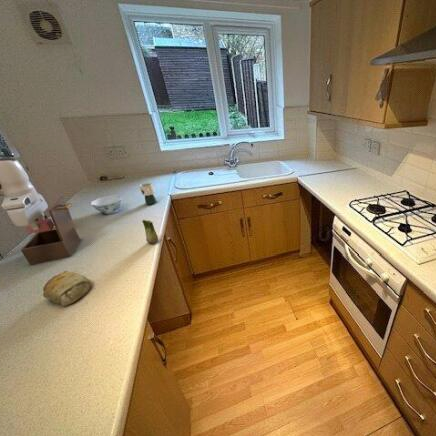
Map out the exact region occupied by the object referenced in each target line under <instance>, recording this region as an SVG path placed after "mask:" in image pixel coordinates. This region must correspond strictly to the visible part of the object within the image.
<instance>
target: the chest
mask: <svg viewBox="0 0 436 436" xmlns="http://www.w3.org/2000/svg"><path fill="white" fill-rule="evenodd" d="M80 241H81V238H80V235H79V234H78V232H77V230H76V228H75V225H74V226H73V227H72V229H71V230H70V232H69V233H68V235H67V236H66V237H65V239H64V240H63V241H61V240H60V238H59V235H58V233H57V231H56V228H55V229H54V230H49V231H43V232H37V233H34V235H33V236H31V238H30V239H29V241H27V243H25V244H24V246H23V247H22V248H21V249H20V252H21V253H22V255H23V256H24V257H25V259H26V260H27V262H28V264H29V265H30V266H34V265H38V264H42V263H47V262H51V261H57V260H60V259H65V258H69V257H71V256H72V255H73V253H74V251H75V250H76V248H77V246H78V244H79V243H80Z"/></svg>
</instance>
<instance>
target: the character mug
mask: <svg viewBox="0 0 436 436" xmlns="http://www.w3.org/2000/svg"><path fill="white" fill-rule="evenodd" d="M139 189H140V193H141V195H142V196H144V200H145V204H146V205H153V204H155V203H157V199H156V197H155V195H154V194H155V189H154V186H153V183H152V182H145V183H141V184H139Z"/></svg>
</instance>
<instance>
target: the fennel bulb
mask: <svg viewBox="0 0 436 436" xmlns="http://www.w3.org/2000/svg"><path fill="white" fill-rule="evenodd" d="M141 222H142V224H143V227H144V230H145V238H146V239H145V240H146V242H147V243H148V244H151V245H152V244H153V245H154V244H157V243H158V241H159V237H158V234H157V232H156V230H155V226H154V222H153V221H150V219H149V220H147V219H142V220H141Z"/></svg>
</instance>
